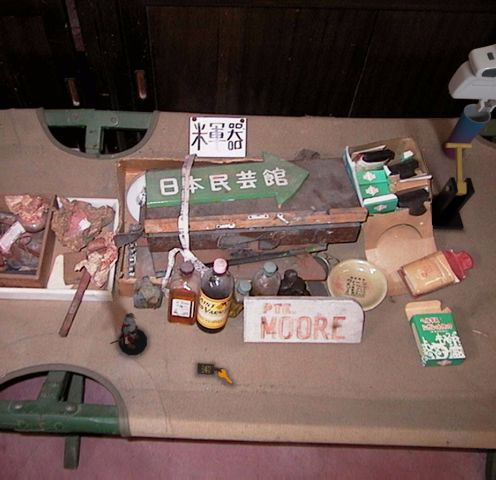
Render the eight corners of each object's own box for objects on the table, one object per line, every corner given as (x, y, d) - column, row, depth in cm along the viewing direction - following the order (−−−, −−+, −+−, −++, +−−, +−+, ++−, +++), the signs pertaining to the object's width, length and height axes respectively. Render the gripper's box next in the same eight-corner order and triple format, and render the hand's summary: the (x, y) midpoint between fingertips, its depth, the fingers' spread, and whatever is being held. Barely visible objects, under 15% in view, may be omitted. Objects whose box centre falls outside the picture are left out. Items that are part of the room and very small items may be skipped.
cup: (466, 146, 152) (492, 108, 139) (462, 163, 148) (489, 126, 136) (442, 139, 153) (466, 100, 140) (437, 155, 150) (462, 117, 137)
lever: (444, 144, 133) (448, 141, 130) (468, 145, 133) (473, 142, 130) (444, 194, 131) (449, 193, 129) (469, 195, 131) (474, 193, 129)
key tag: (195, 373, 117) (196, 372, 117) (199, 360, 119) (199, 359, 118) (231, 383, 116) (231, 383, 116) (234, 371, 118) (235, 370, 117)
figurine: (142, 359, 119) (138, 335, 106) (112, 351, 120) (104, 326, 107) (150, 332, 123) (147, 305, 110) (121, 324, 124) (114, 297, 111)
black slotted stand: (419, 197, 142) (439, 167, 131) (453, 198, 142) (476, 168, 131) (427, 228, 137) (448, 200, 126) (461, 230, 137) (486, 201, 126)
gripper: (561, 52, 111) (524, 101, 122) (463, 49, 111) (435, 98, 123) (572, 73, 107) (532, 121, 119) (471, 70, 108) (441, 118, 120)
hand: (482, 109), depth 121 cm, fingers closed
